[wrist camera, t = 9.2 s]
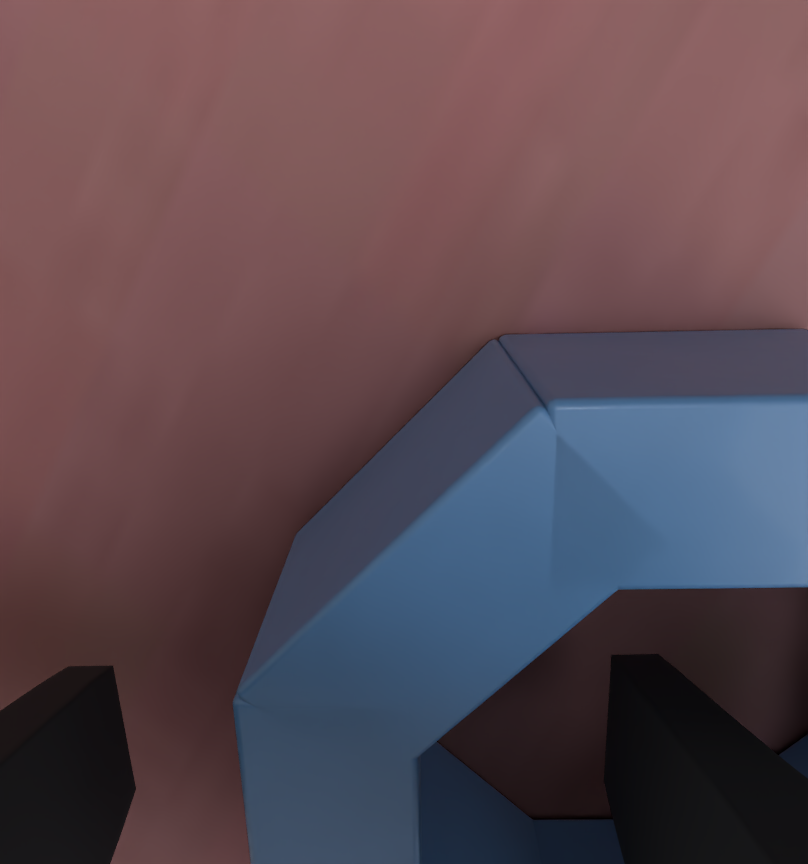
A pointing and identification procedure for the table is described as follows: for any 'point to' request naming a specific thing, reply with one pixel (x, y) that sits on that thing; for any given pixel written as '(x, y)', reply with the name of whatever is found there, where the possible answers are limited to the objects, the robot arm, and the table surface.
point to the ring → (508, 577)
